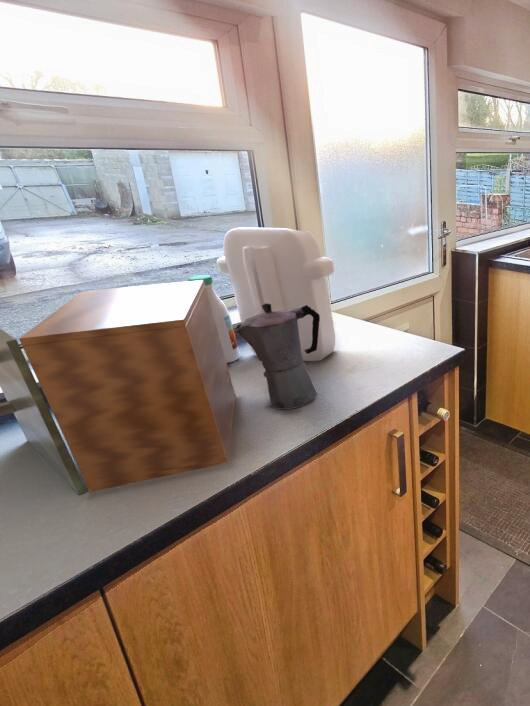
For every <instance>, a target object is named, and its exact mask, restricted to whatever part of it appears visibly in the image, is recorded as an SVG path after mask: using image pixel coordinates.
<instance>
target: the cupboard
mask: <svg viewBox="0 0 530 706" xmlns="http://www.w3.org/2000/svg"><path fill="white" fill-rule="evenodd" d="M18 340H19V342H20V344H21V346H22V349H23V351H24V353H25V355H26V358H27V359H28V362H29V364H30V366H31V368H32V370H33V373H34V375H35V378H36V379H37V381H38V384H39V385H40V388H41V390H42V392H43V394H44V397H45V399H46V401H47V402H48V405H49V407H50V410H51V412H52V414H53V416H54V417H55V420H56V422H57V424H58V427H59V429H60V431H61V433H62V435H63V438H64V440H65V442H66V444H67V447H68V448H69V450H70V451H69V452H70V454H71V455H72V457H73V459H74V461H75V463H76V464H75V465H77V468H78V470H79V472H80V474H81V476H82V477H81V478H82V480H83V482H84V483H85V486H86V487H87V489H88V490H87V491H88V492H89V493H94V492H98V491H103V490H108V489H112V488H117V487H122V486H126V485H131V484H136V483H140V482H145V481H149V480H155V479H159V478H164V477H169V476H172V475H178V474H182V473H186V472H192V471H196V470H201V469H206V468H210V467H216V466H220V465H224V464H227V463H228V462H229V454H230V449H231V448H230V447H231V439H232V433H233V423H234V416H235V409H236V401H237V395H236V392H235V387H234V384H233V380H232V377H231V373H230V370H229V366H228V363H226V359H225V355H224V352H223V348H222V345H221V341H220V337H219V334H218V330H217V327H216V323H215V319H214V316H213V312H212V309H211V305H210V301H209V298H208V294H207V291H206V287H205V283H204V280H198V281H188V280H187V281H178V282H167V283H156V284H145V285H144V284H143V285H134V286H123V287H113V288H111V287H110V288H101V289H92V290H82V291H81V292H79V293H78V294H76V296H74V297H72V298H71V299H70V300H69V301H67V302H66V303H64V304H63V305H62V306H61V307H59V308H58V309H56V310H55V311H54V312H52V313H51V314H50V315H49V316H47V317H46V318H44V319H43V320H41V322H39V323H38V324H36V325H35V326H34V327H32V328H31V329H30V330H28V331H27V332H25V333H24V334H23V335H22V336H20V337H19V338H18ZM228 464H229V463H228Z"/></svg>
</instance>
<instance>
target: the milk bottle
mask: <svg viewBox="0 0 530 706" xmlns="http://www.w3.org/2000/svg"><path fill="white" fill-rule="evenodd" d="M198 280H204V283H205V287H206V291H207V294H208V298H209V301H210V305H211V309H212V312H213V316H214V319H215V323H216V327H217V330H218V334H219V337H220V341H221V345H222V348H223V352H224V355H225V359H226V363H227V364H229V363H232V362H235V361H237V360H238V359H240V357H241V353H240V349H239V344H238V341H237V337H236V332H234V327H233V323H232V319H231V315H230V313H229V310H228V308H227V306H226V304H225V303H224V301H223V300H222V299H221V298H220V296H218V294H217V292H216V290H215V289H214V281H213V277H212V276H211V275H209V274H201V275H199V274H198V275H193V276H190V277H188V279H187V281H198Z"/></svg>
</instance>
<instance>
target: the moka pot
mask: <svg viewBox="0 0 530 706" xmlns="http://www.w3.org/2000/svg"><path fill="white" fill-rule="evenodd" d="M262 308H263V310H264V311H265V313H261V314H258V315H256V316H253V317H250V318H248V319H245V322H243V323H241V322H240V323H239V324H237V325H236V327H235V328H233V330H234V333H238V334H239V335H240V336H241V338H243V339H244V341H245V342H246V343H248V344H249V345H250V346H251V347H252V348H253V349H254V351H255V353H256V355H257V356H256V357H257V359H258V361H259V362H261V365H262V367H263V369H264V372H263V373H262V375H263V377H264V378H265V379H266V383H267V391H268V395H269V401H270V406H271V407H272V408H273V409H277V410H291V409H296V408H300V407H302V406H304V405H307V404H309V403H311V402H312V401H313V400H315V398H316V397H317V395H318V392H317V390H316V387H315V385H314V382H313V380H312V378H311V376H310V374H309V372H308V369H307V366H306V363H305V361H304V360H303V357H302V352H301V344H300V337H299V330H298V323H297V320H298V319H300V318H303V317H305V316H306V315H311V316H312V317H313V323H312V325H313V328H312V330H313V331H312V338H313V340H312V345H311V347H310V348H309V349H305V352H306V354H308V353H311V352H314V351H316V350H317V343H318V330H319V321H320V315H319V314H318V313H317V312H315V310H312V309H311V308H310V307H308V306H307V305H305V306H303V307H301V308H300V309H298V308H297V309H293V310H291V311H284V310H279V311H272V310H271V304H268V303H266V304H263V305H262ZM248 344H247V345H248Z"/></svg>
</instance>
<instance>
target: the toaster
mask: <svg viewBox="0 0 530 706" xmlns="http://www.w3.org/2000/svg"><path fill="white" fill-rule="evenodd" d="M222 246H223V256H222V255H221V256H219V257H218V258H217V260H216V266H217V269H218V271H219V272H218V273H219V274H222V275H224V276H228V277H229V280H230V281H229V282H230V284H231V288H232V292H233V296H234V299H235V303H236V307H237V312H238V316H239V319H240V324H241V323H243V322H245V319H248V318H250V317H253V316H256V315H258V314H261V313H265V311H264V310H263V308H262V305H263V304H266V303H268V304H271V310H272V311H279V310H284V311H291V310H293V309H297V308H298V309H300V308H301V307H303V306H305V305H307V306H308V307H310V308H311V309H312V310H315V312H317V313H318V314H319V315H320V321H319V330H318V343H317V350H316V351H314V352H311V353H308V354H306V352H305V349H309V348H310V347H311V345H312V340H313V338H312V331H313V330H312V328H313V325H312V323H313V317H312V316H311V315H306V316H305V317H303V318H300V319H298V320H297V323H298V330H299V337H300V344H301V352H302V357H303V361H306V362H307V361H308V362H319V361H322V360H323V359H325V358H327V356H330V355H331V354H332V353H333V352H334V351H335V347H336V332H335V327H334V319H333V313H332V308H331V303H330V296H329V290H328V285H327V279H326V278H328V277H330V276H331V275H333V274H335V265H334V261H333V259H331V258H330V257H328V256H323V255H322V252H321V248H320V246H319V244H318V241H317V240H316V238H315V236H314V234H313V233H312V232H311V231H310V230H308V229H307V230H298V229H294V228H288V227H256V226H255V227H253V226H250V227H249V226H247V227H246V226H240V227H233V228H232V229H229V230H228V231H227V232H226V233H225V234H224V237H223V245H222ZM246 343H247V342H246ZM247 346H248V348H249V349H250V352H251V353H252V354H253V355H254V356H255V357H257V355H256V353H255V351H254V349H253V348H252V347H251V346H250V345H249V344H248V343H247Z"/></svg>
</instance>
